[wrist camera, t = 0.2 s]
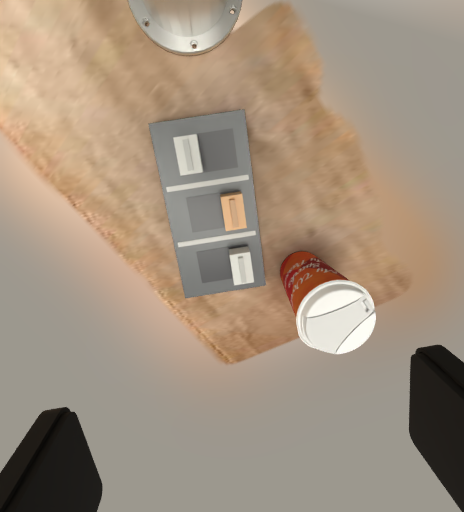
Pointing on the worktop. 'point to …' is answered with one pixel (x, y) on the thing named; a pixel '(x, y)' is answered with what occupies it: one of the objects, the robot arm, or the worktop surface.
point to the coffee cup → (327, 304)
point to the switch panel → (209, 200)
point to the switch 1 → (188, 154)
